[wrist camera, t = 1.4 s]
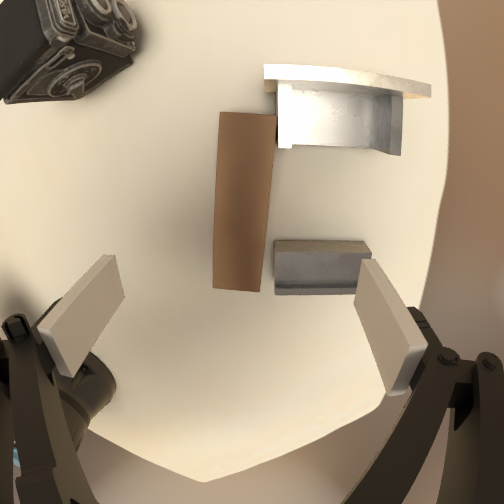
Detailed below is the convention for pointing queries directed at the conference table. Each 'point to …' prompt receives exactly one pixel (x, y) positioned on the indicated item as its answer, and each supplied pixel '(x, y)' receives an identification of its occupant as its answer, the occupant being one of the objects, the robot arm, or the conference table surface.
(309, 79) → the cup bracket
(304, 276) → the rest block
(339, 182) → the conference table surface
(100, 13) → the camera
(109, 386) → the robot arm
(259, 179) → the rail
